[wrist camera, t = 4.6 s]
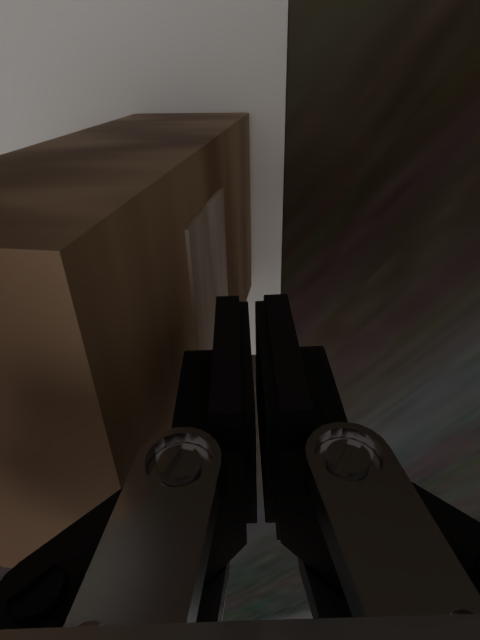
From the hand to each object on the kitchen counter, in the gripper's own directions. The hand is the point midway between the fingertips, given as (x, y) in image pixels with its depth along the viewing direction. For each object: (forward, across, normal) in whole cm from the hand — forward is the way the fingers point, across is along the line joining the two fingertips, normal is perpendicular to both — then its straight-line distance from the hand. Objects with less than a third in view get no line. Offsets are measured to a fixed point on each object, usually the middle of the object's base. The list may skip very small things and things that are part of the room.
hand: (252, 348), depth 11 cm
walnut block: (+12, +2, 0) cm, 12 cm away
